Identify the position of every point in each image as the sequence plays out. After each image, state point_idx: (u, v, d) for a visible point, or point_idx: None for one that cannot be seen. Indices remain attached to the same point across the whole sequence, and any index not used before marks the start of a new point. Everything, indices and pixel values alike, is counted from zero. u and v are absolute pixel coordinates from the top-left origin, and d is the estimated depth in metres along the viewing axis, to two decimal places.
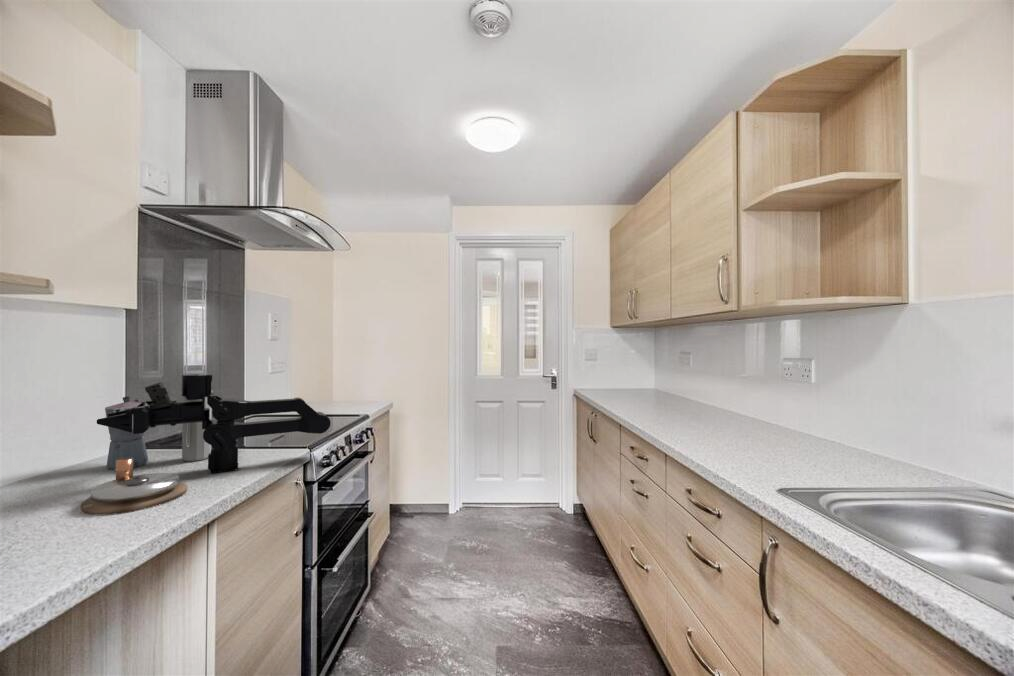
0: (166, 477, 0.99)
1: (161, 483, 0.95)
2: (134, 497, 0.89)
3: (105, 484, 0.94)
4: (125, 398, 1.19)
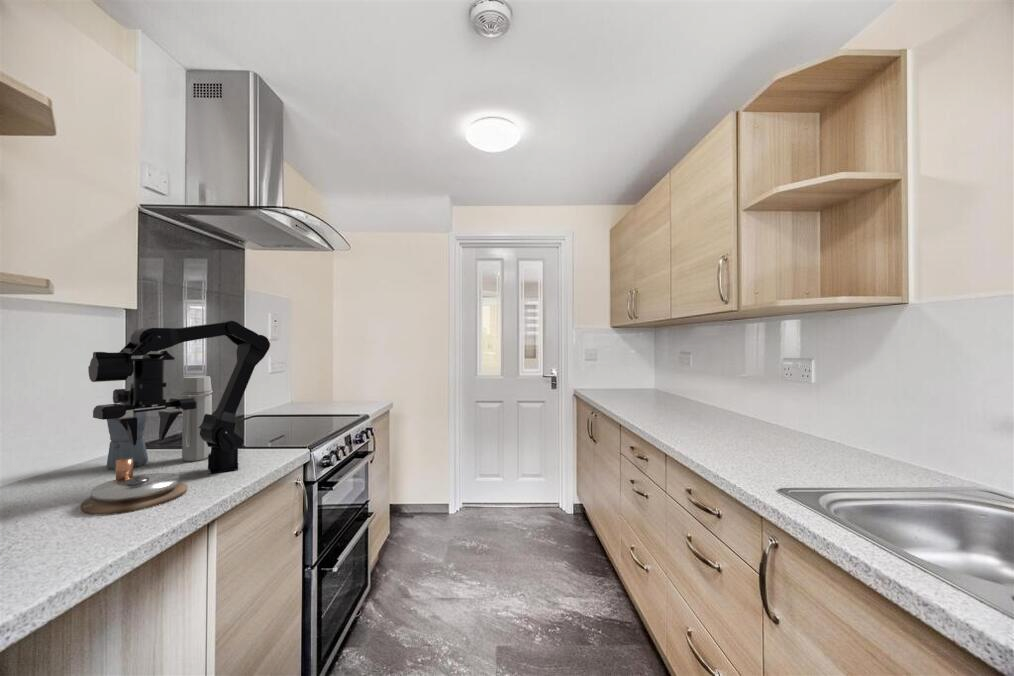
0: (166, 477, 0.99)
1: (161, 483, 0.95)
2: (134, 497, 0.89)
3: (105, 484, 0.94)
4: None
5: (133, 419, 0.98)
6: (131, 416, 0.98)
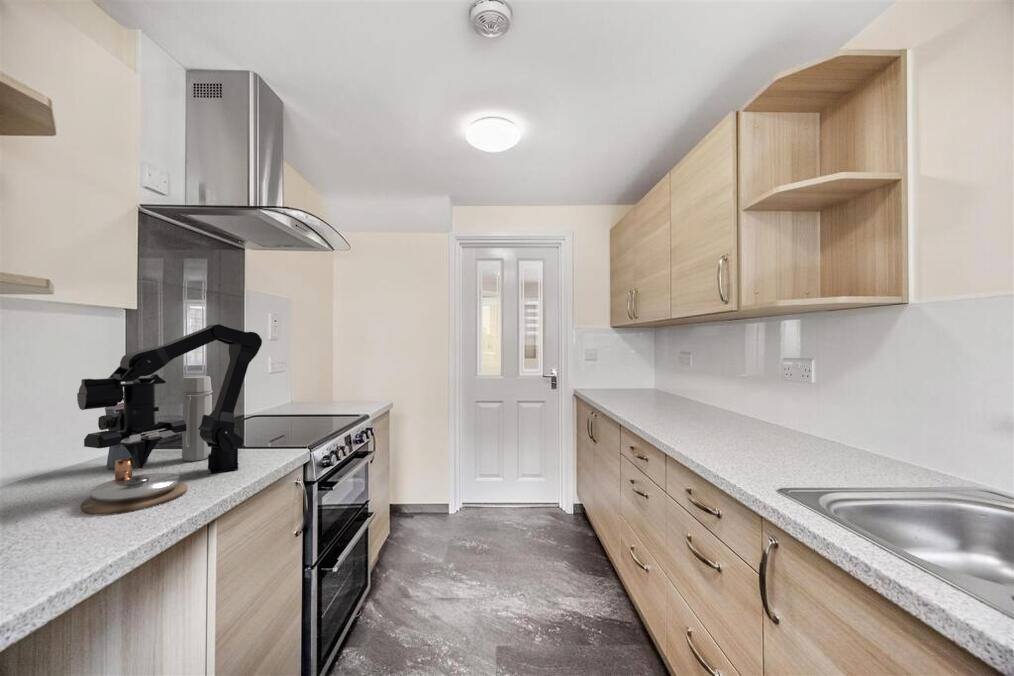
0: (166, 477, 0.99)
1: (161, 483, 0.95)
2: (135, 497, 0.90)
3: (105, 484, 0.94)
4: None
5: (141, 443, 0.99)
6: (139, 440, 0.99)
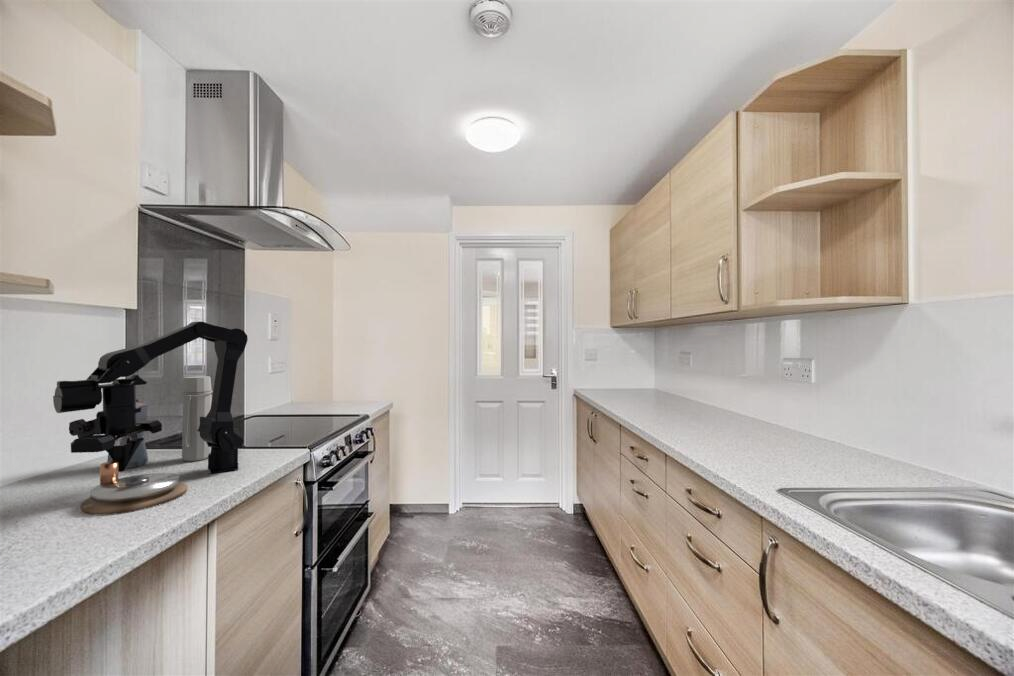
0: (161, 475, 1.00)
1: (168, 479, 0.98)
2: (155, 492, 0.92)
3: (98, 488, 0.92)
4: None
5: (129, 444, 0.97)
6: (125, 442, 0.97)
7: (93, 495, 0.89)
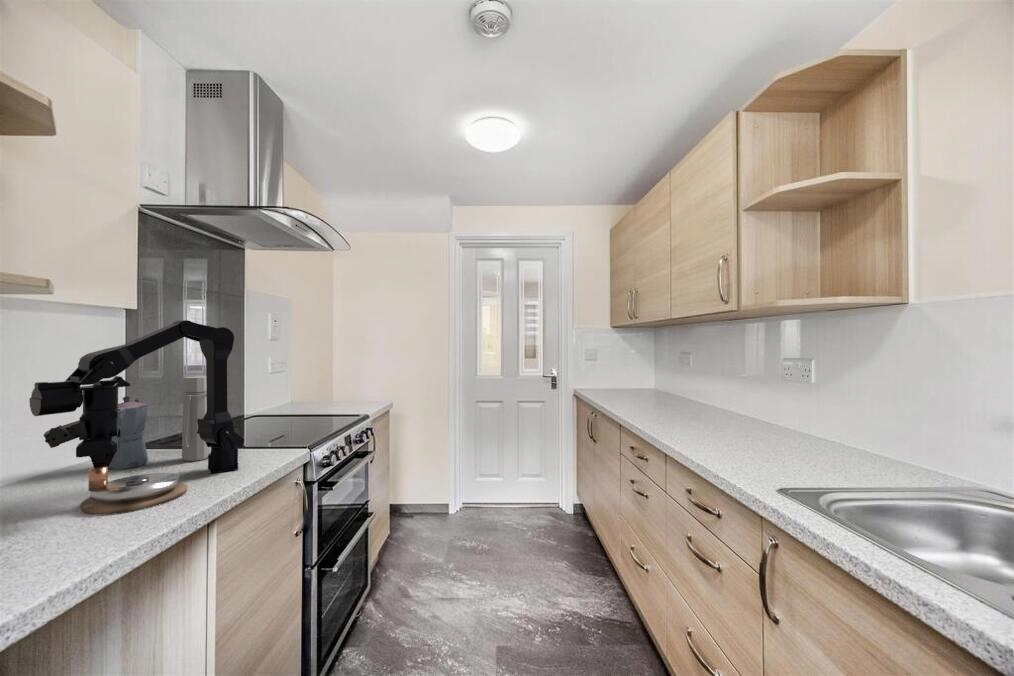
0: (147, 476, 1.00)
1: (167, 476, 1.00)
2: (174, 485, 0.97)
3: (103, 492, 0.89)
4: (125, 398, 1.19)
5: None
6: None
7: (111, 496, 0.88)
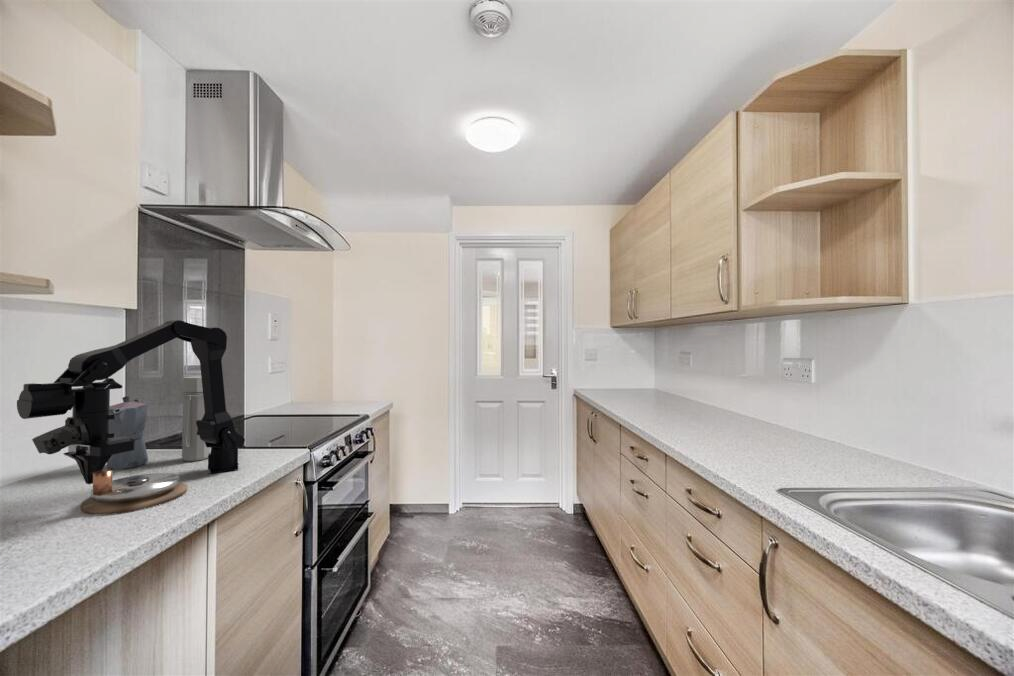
0: (128, 479, 0.98)
1: (154, 475, 1.01)
2: None
3: (123, 492, 0.89)
4: (125, 398, 1.19)
5: None
6: None
7: (140, 493, 0.90)
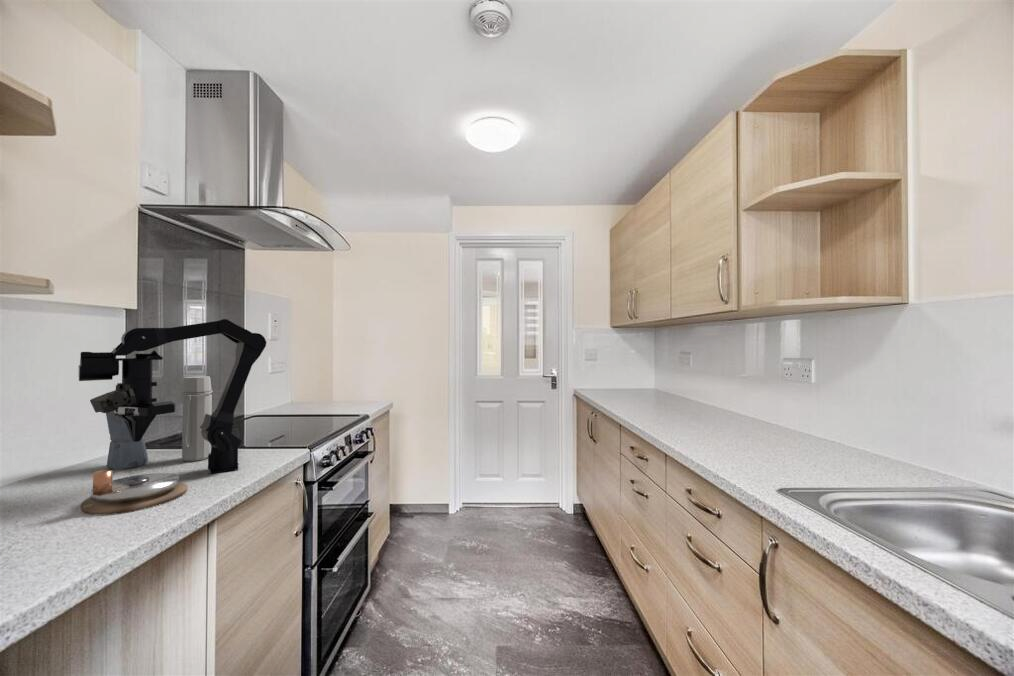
0: (128, 479, 0.98)
1: (154, 475, 1.01)
2: None
3: (123, 492, 0.89)
4: None
5: None
6: None
7: (140, 493, 0.90)
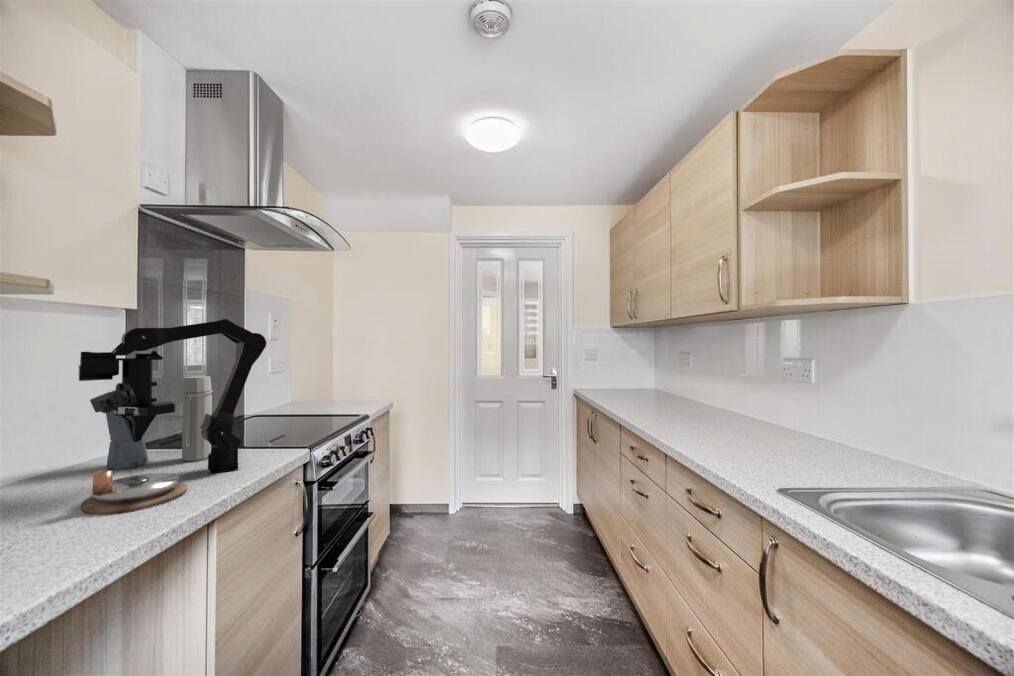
0: (128, 479, 0.98)
1: (154, 475, 1.01)
2: None
3: (123, 492, 0.89)
4: None
5: None
6: None
7: (140, 493, 0.90)
